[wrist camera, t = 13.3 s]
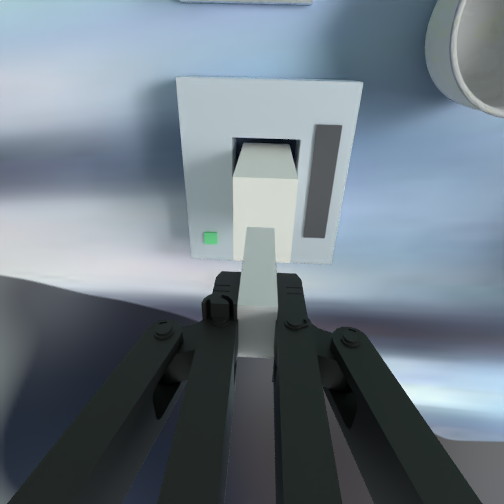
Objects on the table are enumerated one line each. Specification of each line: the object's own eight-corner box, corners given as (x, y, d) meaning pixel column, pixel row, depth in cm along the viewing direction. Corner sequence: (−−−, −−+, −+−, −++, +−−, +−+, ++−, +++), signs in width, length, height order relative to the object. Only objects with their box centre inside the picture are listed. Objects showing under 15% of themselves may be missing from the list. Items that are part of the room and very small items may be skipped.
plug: (287, 139, 30) (298, 179, 19) (283, 200, 33) (290, 262, 22) (245, 138, 30) (232, 176, 19) (244, 198, 33) (233, 260, 22)
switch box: (351, 80, 27) (364, 82, 23) (325, 244, 35) (331, 266, 31) (187, 75, 27) (174, 77, 24) (198, 239, 35) (190, 260, 32)
